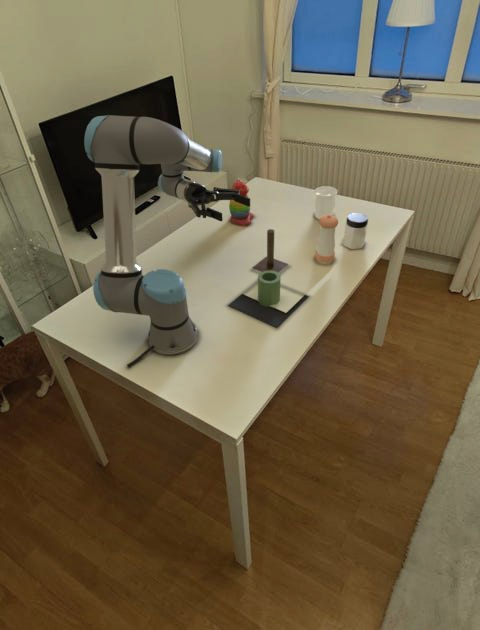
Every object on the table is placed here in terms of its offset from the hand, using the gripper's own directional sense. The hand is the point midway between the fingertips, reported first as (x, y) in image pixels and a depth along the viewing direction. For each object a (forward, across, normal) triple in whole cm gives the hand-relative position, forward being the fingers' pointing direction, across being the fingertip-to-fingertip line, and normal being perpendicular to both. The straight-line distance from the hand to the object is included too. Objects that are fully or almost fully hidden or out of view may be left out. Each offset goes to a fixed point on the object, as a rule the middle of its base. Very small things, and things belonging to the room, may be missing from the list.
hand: (236, 209), depth 143 cm
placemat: (+17, +3, -28) cm, 33 cm away
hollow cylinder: (+17, +3, -28) cm, 33 cm away
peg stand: (+5, -13, -28) cm, 31 cm away
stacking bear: (-30, -35, -28) cm, 54 cm away
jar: (+20, -48, -28) cm, 59 cm away
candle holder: (-4, -61, -28) cm, 67 cm away
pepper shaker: (+17, -31, -28) cm, 45 cm away
